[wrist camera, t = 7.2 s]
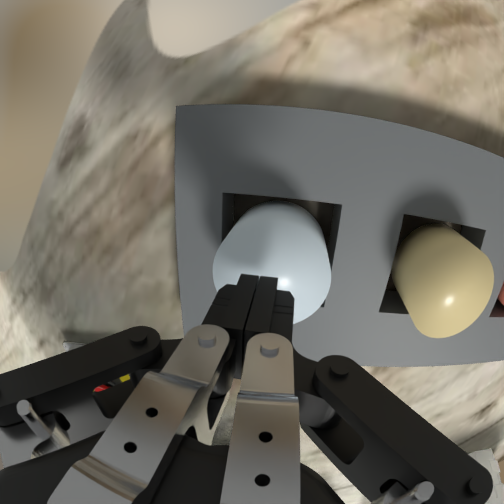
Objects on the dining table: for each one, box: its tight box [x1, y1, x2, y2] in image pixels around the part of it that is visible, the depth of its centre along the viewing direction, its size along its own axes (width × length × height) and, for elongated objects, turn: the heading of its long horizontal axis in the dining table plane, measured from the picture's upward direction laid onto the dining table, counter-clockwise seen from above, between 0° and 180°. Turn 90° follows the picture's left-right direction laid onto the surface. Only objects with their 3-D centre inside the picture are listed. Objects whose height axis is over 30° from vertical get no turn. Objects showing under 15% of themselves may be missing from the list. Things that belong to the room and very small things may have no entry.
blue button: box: [213, 201, 331, 324], centre depth 15 cm, size 6×6×4 cm
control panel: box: [175, 104, 504, 367], centre depth 16 cm, size 32×16×3 cm, turn 87°
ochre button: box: [392, 223, 494, 338], centre depth 14 cm, size 6×6×4 cm
